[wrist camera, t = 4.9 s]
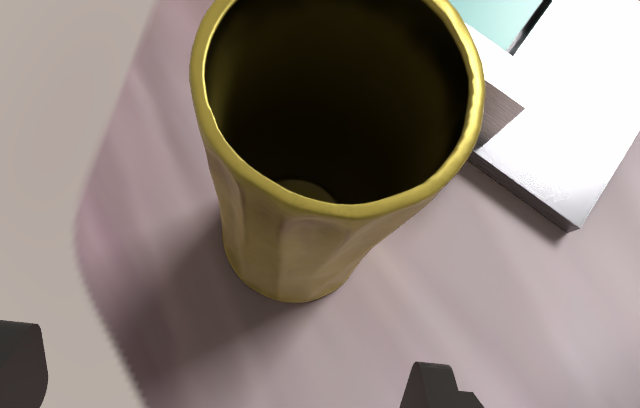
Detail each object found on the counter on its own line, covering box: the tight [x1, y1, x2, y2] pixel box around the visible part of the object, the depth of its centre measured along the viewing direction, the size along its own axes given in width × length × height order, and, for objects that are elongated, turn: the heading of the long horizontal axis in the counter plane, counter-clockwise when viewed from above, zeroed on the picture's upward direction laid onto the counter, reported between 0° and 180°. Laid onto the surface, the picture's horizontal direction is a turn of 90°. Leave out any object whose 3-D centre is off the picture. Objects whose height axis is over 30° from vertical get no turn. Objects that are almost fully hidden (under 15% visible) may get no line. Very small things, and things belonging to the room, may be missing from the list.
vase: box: [189, 0, 485, 303], centre depth 16 cm, size 6×6×14 cm
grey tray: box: [466, 0, 640, 233], centre depth 24 cm, size 17×12×5 cm
